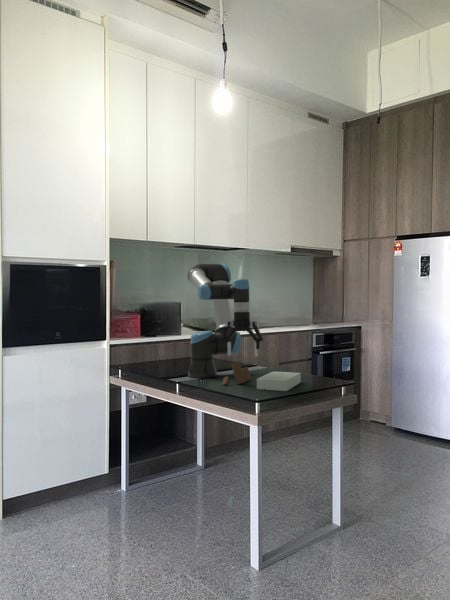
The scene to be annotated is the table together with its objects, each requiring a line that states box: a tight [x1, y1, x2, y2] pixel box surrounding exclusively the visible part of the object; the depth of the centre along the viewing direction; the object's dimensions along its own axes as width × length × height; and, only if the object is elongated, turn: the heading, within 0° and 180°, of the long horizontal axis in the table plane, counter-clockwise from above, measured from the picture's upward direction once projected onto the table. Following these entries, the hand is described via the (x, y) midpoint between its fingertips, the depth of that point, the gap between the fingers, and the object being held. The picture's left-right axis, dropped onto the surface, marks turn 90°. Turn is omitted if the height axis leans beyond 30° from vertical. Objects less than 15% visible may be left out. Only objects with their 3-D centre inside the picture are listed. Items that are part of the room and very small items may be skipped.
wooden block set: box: [221, 361, 252, 386], centre depth 240 cm, size 18×9×10 cm, turn 140°
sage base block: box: [256, 371, 302, 392], centre depth 232 cm, size 14×22×5 cm, turn 155°
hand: (242, 355), depth 238 cm, fingers open, 13 cm apart
